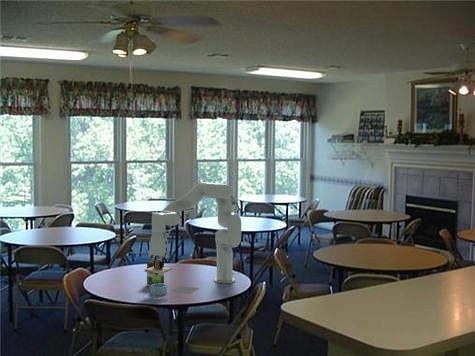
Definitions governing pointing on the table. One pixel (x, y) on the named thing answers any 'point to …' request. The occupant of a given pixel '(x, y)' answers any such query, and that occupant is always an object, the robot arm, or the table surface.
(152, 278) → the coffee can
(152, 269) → the lid
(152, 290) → the bowl
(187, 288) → the mat
